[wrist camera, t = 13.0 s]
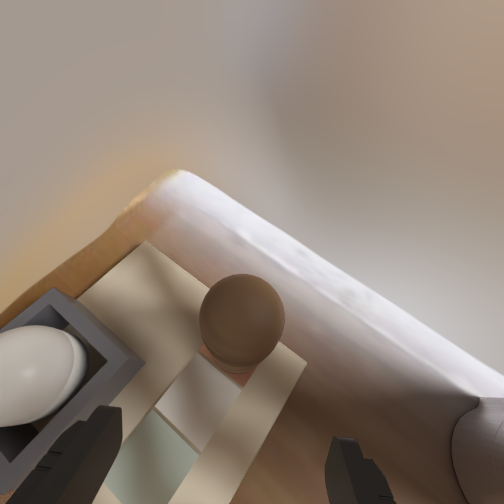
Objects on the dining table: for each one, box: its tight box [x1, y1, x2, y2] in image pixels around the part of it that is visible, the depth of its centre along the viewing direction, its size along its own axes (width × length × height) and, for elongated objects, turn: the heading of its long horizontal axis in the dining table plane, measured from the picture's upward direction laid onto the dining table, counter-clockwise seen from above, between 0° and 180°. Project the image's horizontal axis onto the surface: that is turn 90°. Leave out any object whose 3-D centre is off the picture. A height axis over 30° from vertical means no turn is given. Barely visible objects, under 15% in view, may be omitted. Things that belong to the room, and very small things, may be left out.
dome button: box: [0, 325, 89, 427], centre depth 16 cm, size 6×6×6 cm
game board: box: [32, 241, 307, 504], centre depth 21 cm, size 18×21×2 cm
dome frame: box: [0, 287, 146, 495], centre depth 19 cm, size 9×9×4 cm
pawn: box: [199, 274, 285, 374], centre depth 17 cm, size 5×5×13 cm
